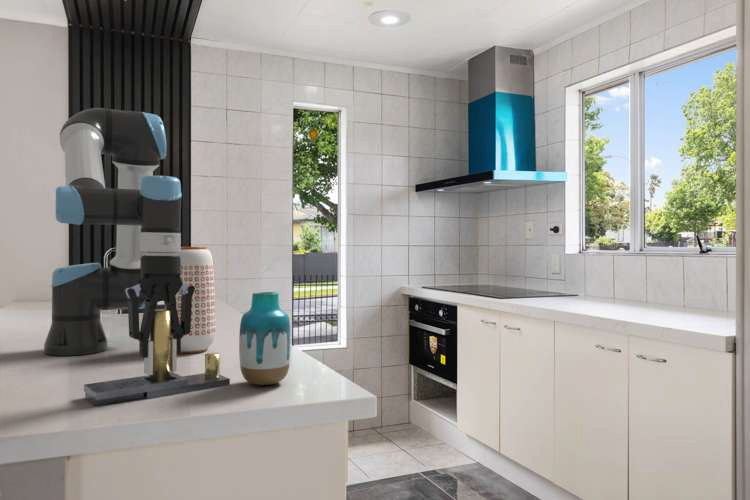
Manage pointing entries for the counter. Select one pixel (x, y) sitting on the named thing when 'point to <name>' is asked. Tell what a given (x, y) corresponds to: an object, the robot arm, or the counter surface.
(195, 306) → the vase
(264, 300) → the vase
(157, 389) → the grey slide latch
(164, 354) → the pin
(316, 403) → the counter surface
